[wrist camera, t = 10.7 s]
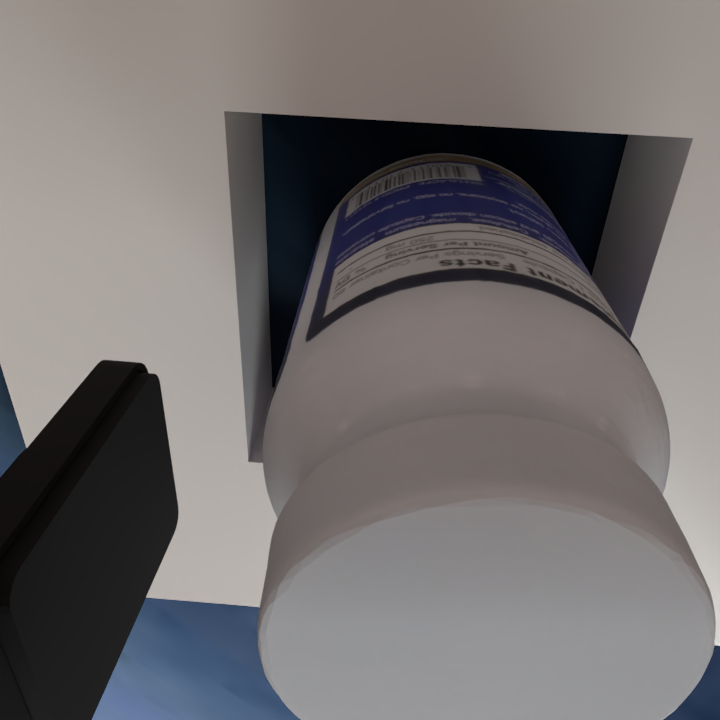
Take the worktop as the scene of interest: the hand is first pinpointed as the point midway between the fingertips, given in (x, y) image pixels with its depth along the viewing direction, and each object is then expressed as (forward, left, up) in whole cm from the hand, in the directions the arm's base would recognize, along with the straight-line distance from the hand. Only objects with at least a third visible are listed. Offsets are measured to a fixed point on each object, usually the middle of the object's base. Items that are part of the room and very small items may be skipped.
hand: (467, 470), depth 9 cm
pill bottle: (0, 0, -7) cm, 7 cm away
